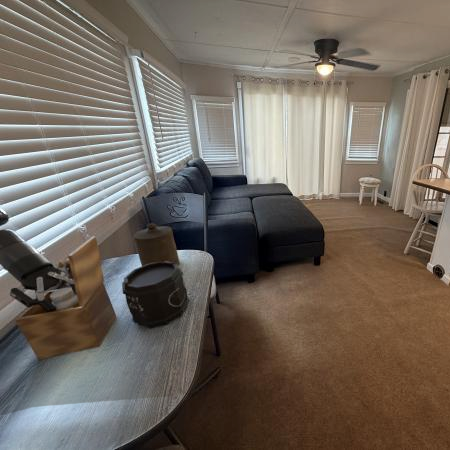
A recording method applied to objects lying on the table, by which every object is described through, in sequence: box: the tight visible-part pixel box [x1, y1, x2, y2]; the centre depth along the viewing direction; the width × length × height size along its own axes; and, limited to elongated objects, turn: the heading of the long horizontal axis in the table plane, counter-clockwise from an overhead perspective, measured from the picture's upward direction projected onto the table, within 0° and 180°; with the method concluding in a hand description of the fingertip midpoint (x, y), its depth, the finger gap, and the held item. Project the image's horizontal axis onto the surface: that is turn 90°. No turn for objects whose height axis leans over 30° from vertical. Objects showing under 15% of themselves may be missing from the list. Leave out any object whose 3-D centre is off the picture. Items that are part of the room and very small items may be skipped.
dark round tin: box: [121, 261, 190, 329], centre depth 81 cm, size 18×18×16 cm
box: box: [14, 282, 118, 361], centre depth 71 cm, size 15×13×14 cm
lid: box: [67, 235, 105, 307], centre depth 68 cm, size 16×13×1 cm
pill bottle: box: [50, 286, 80, 311], centre depth 70 cm, size 6×6×12 cm
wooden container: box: [133, 222, 181, 266], centre depth 107 cm, size 15×15×22 cm
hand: (69, 302), depth 69 cm, fingers closed on pill bottle, 6 cm apart
